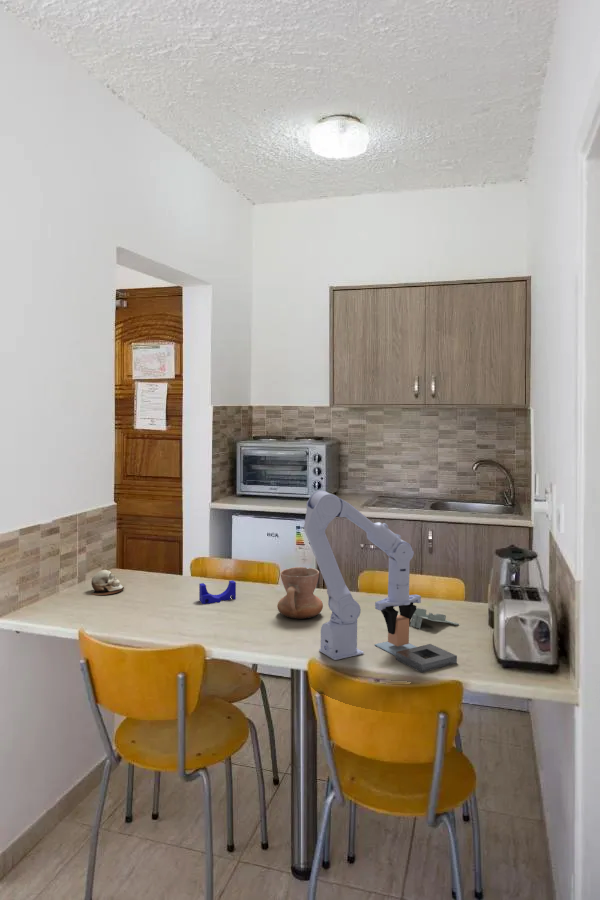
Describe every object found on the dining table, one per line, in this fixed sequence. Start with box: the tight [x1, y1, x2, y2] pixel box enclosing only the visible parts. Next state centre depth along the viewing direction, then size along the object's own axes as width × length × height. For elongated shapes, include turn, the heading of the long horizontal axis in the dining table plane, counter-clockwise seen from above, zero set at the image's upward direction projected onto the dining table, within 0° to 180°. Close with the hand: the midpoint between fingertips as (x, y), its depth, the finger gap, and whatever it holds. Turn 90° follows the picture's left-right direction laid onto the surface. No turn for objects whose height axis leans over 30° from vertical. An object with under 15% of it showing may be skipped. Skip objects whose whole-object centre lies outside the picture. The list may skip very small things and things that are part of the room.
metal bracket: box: [409, 607, 460, 630], centre depth 201 cm, size 14×6×15 cm
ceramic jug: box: [276, 566, 324, 620], centre depth 207 cm, size 18×14×14 cm
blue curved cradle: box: [198, 580, 237, 605], centre depth 223 cm, size 12×4×6 cm, turn 113°
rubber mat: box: [374, 640, 417, 657], centre depth 180 cm, size 9×9×1 cm
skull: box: [91, 569, 125, 596], centre depth 233 cm, size 12×10×10 cm
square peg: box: [387, 614, 410, 646], centre depth 180 cm, size 4×4×7 cm
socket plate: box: [395, 643, 458, 674], centre depth 170 cm, size 12×10×2 cm
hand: (397, 631), depth 180 cm, fingers closed on square peg, 4 cm apart
